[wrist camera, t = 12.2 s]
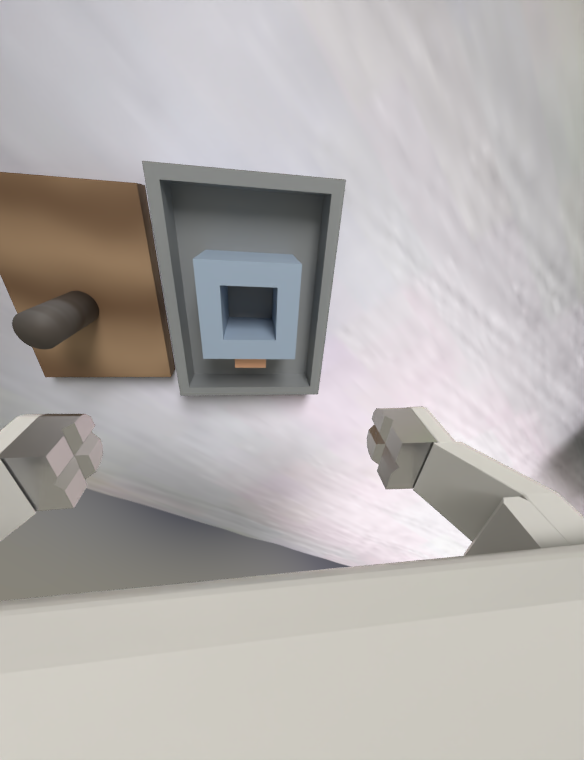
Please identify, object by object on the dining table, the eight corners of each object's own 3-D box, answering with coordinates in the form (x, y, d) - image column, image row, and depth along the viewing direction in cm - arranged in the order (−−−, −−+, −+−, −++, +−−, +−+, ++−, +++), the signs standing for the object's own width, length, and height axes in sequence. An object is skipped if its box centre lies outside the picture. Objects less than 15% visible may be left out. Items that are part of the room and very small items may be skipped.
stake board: (-25, 171, 18) (-154, 151, 12) (144, 185, 19) (98, 173, 13) (56, 368, 25) (-2, 413, 19) (175, 368, 26) (153, 410, 20)
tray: (157, 168, 18) (141, 160, 16) (334, 184, 20) (345, 179, 17) (187, 378, 26) (180, 395, 24) (312, 377, 28) (317, 394, 25)
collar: (205, 249, 21) (192, 258, 16) (292, 254, 22) (302, 264, 17) (214, 349, 25) (205, 377, 20) (287, 349, 26) (293, 376, 21)
